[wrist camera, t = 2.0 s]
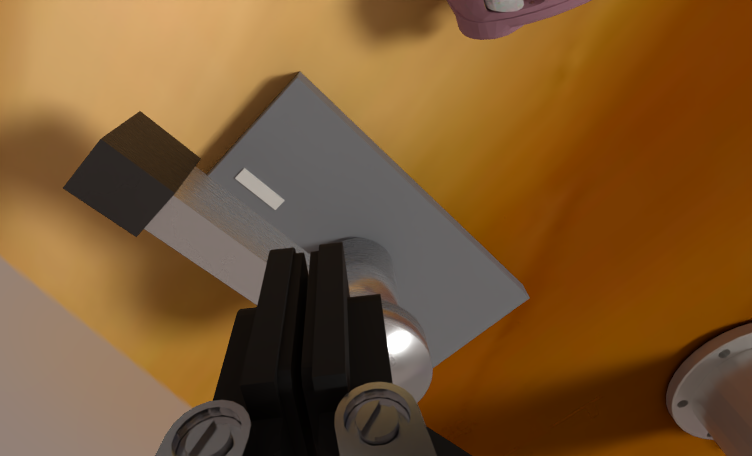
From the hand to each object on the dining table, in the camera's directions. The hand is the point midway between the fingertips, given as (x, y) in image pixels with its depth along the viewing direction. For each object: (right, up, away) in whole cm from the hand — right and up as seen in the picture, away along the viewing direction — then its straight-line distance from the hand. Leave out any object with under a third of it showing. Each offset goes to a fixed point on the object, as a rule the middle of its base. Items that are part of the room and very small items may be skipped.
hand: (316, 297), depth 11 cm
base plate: (0, 0, +19) cm, 19 cm away
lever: (-4, +2, +15) cm, 16 cm away
